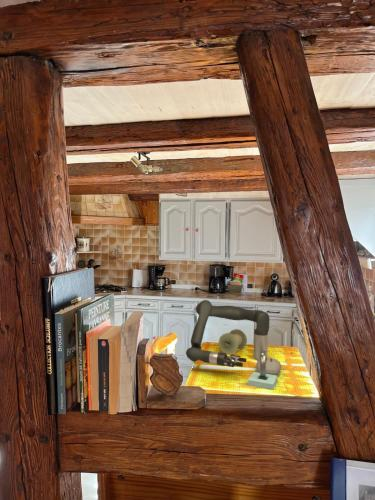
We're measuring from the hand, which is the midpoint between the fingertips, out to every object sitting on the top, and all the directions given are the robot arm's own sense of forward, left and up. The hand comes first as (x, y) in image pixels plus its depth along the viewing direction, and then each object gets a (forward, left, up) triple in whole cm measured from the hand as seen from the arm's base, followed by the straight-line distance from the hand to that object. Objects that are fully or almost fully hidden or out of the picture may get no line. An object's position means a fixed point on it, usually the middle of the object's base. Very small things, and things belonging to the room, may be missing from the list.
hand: (244, 362), depth 196 cm
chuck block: (0, +11, -10) cm, 15 cm away
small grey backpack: (-18, +11, -10) cm, 23 cm away
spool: (-49, -21, -10) cm, 54 cm away
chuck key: (0, +11, -10) cm, 15 cm away
